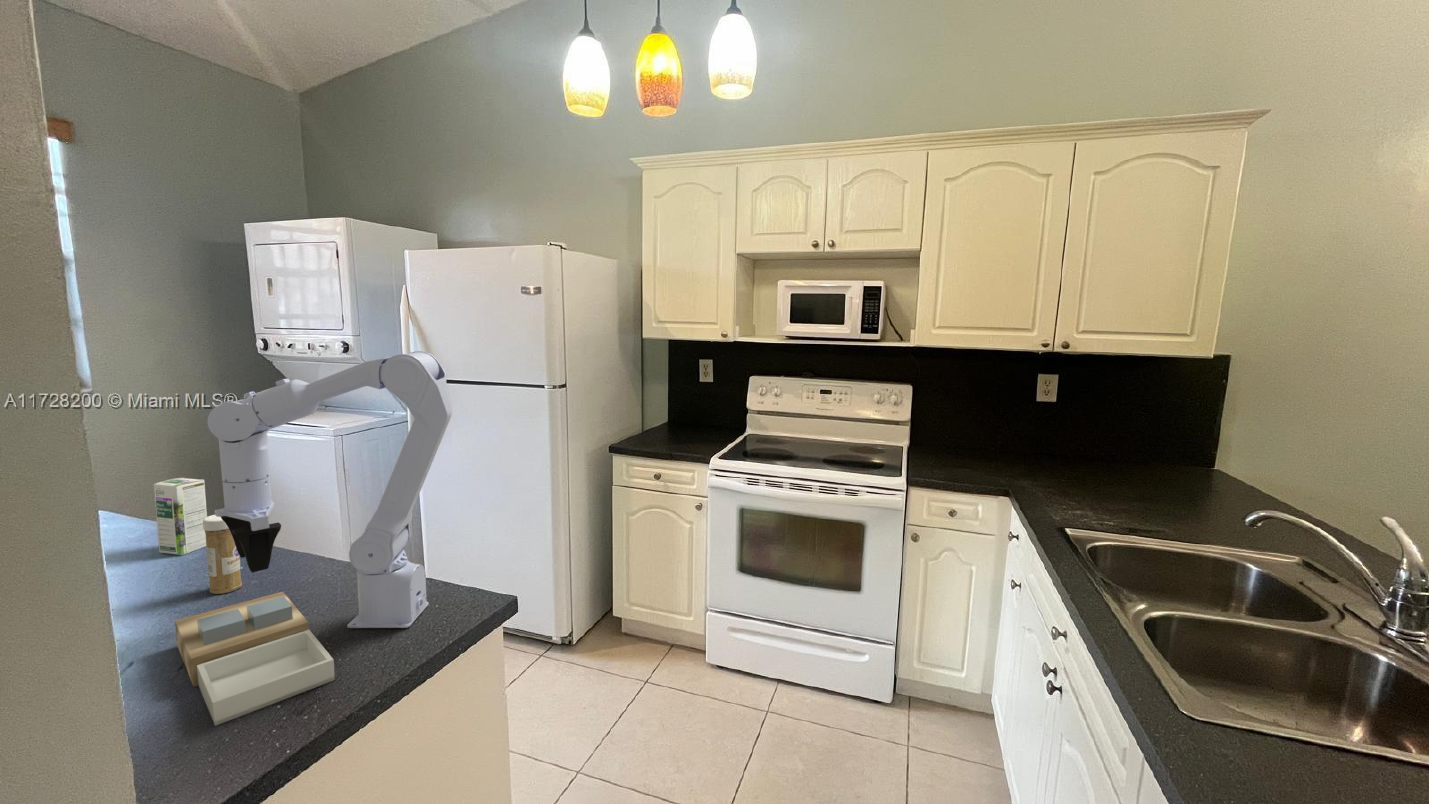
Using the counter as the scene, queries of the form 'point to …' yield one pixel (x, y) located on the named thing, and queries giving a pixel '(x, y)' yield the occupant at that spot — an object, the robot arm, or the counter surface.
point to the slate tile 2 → (269, 612)
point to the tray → (263, 675)
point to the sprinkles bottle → (221, 556)
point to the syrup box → (180, 515)
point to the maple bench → (200, 653)
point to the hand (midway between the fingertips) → (253, 562)
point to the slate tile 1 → (221, 626)
